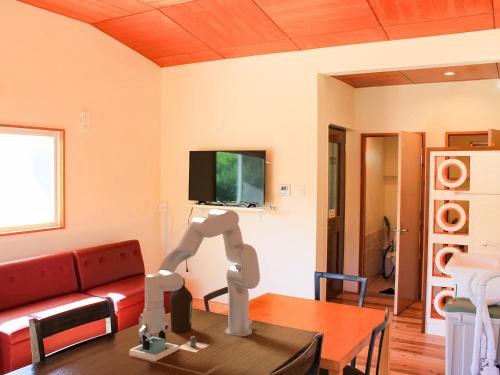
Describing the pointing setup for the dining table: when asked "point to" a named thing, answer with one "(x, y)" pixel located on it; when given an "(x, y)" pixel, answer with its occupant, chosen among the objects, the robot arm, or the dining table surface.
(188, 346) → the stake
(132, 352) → the white square frame
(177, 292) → the olive oil
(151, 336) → the soda can
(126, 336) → the dining table surface
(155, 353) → the collar
